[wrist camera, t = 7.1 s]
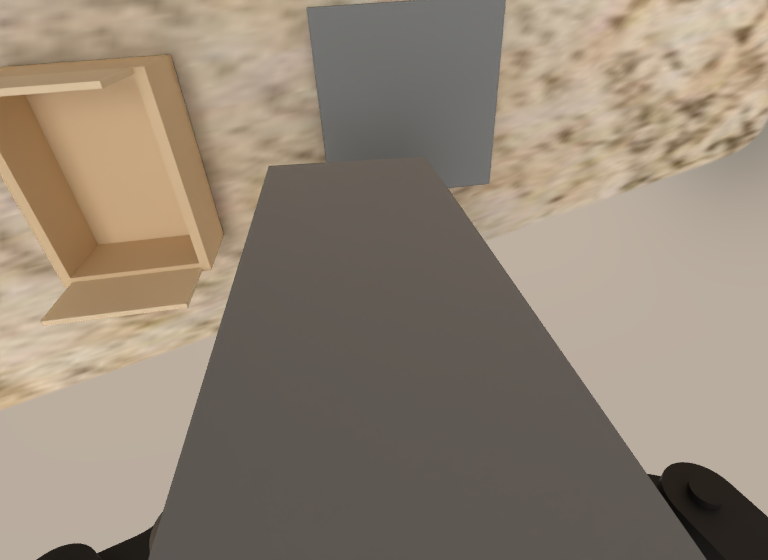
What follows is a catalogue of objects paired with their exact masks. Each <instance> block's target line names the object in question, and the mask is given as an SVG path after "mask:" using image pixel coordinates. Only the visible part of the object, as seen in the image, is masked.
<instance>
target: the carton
mask: <svg viewBox="0 0 768 560" xmlns="http://www.w3.org/2000/svg"><path fill="white" fill-rule="evenodd" d="M0 175H1V177H2V179H3V181H4V182H5V184H6V186H7V188H8V189H9V191H10V193H11V195H12V196H13V198H14V200H15V202H16V203H17V205H18V207H19V209H20V210H21V212H22V214H23V215H24V217H25V219H26V221H27V222H28V224H29V226H30V228H31V229H32V231H33V233H34V235H35V236H36V238H37V240H38V242H39V243H40V245H41V247H42V249H43V250H44V252H45V254H46V256H47V257H48V259H49V261H50V262H51V264H52V266H53V268H54V269H55V271H56V273H57V275H58V276H59V278H60V280H61V282H62V283H63V285H64V287H68V288H67V289H66V291H65V292H64V293H63V294H62V295H61V297H60V298H59V299H58V300H57V302H56V303H55V304H54V305H53V306H52V308H51V309H50V310H49V311H48V313H47V314H46V315H45V316H44V318H43V319H42V320H41V321H40V322H41V324H42V325H43V326H44V325H52V324H60V323H68V322H76V321H84V320H92V319H100V318H108V317H116V316H124V315H132V314H140V313H148V312H156V311H164V310H172V309H180V308H188V306H189V303H190V301H191V298H192V296H193V293H194V290H195V288H196V285H197V283H198V280H199V277H200V275H201V272H202V271H206V270H211V269H212V266H213V264H214V261H215V258H216V255H217V252H218V249H219V247H220V244H221V241H222V238H223V235H224V234H223V231H222V228H221V224H220V221H219V217H218V214H217V211H216V207H215V204H214V200H213V197H212V194H211V190H210V187H209V183H208V180H207V177H206V173H205V170H204V167H203V163H202V160H201V156H200V153H199V150H198V146H197V143H196V139H195V136H194V133H193V129H192V126H191V122H190V119H189V116H188V112H187V109H186V106H185V102H184V99H183V95H182V92H181V89H180V85H179V82H178V78H177V75H176V72H175V68H174V65H173V62H172V58H171V55H170V54H168V55H155V56H141V57H127V58H114V59H100V60H87V61H73V62H59V63H46V64H32V65H18V66H6V67H2V68H0Z"/></svg>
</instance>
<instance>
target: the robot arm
mask: <svg viewBox="0 0 768 560" xmlns="http://www.w3.org/2000/svg"><path fill="white" fill-rule="evenodd" d="M647 475H648V476H649V478H650V479H651V481H652V482H653V483H654V485H655V486H656V488H657V489H658V491H659V492H660V493H661V495H662V496H663V498H664V499H665V501H666V502H667V503H668V505H669V506H670V508H671V509H672V511H673V512H674V514H675V515H676V516H677V518H678V519H679V521H680V522H681V524H682V525H683V526H684V528H685V529H686V531H687V532H688V534H689V535H690V536H691V538H692V539H693V541H694V542H695V544H696V545H697V547H698V548H699V549H700V551H701V552H702V554H703V555H704V557H705V558H706V559H707V560H768V517H767V516H766V515H765V514H764V513H763V512H762V511H761V510H759V509H758V508H757V507H756V506H755V505H754V504H753V503H752V502H750V501H749V500H748V499H747V498H746V497H745V496H743V494H741V493H740V492H739V491H738V490H737V489H736V488H735V487H733V486H732V485H731V484H730V483H729V482H728V481H726V480H725V479H724V478H723V477H721V476H720V475H718V474H717V473H715V472H713V471H712V470H710V469H708V468H705V467H703V466H700V465H696V464H692V463H684V462H680V463H675V464H671V465H670V466H668V467H667V468H666V469H665V470H664V472H663V474H662V476H657V475H651V474H647ZM162 513H163V512H162ZM162 513H161V515H160V516H159V517H158V519H157V520H156V522H155V524H154V526H152V527H151V528H150V529H148V530H146V531H145V532H143V533H141V534H139V535H137V536H135V537H133V538H131V539H128V540H126V541H124V542H122V543H119V544H117V545H115V546H113V547H110V548H108V549H106V550H103V551H102V552H99V553H96V552H95V551H94V550H93V549H92V548H91V547H89V546H87V545H84V544H68V545H64V546H61V547H58V548H56V549H53V550H51V551H50V552H48V553H46V554H44V555H43V556H41V557H40V558H38V559H37V560H148V559H149V556H150V552H151V549H152V546H153V543H154V539H155V536H156V533H157V530H158V526H159V523H160V520H161V517H162Z"/></svg>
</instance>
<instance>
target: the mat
mask: <svg viewBox="0 0 768 560" xmlns="http://www.w3.org/2000/svg"><path fill="white" fill-rule="evenodd" d="M505 2H506V0H414V1H399V2H384V3H369V4H353V5H338V6H323V7H308V8H307V15H308V23H309V30H310V38H311V46H312V54H313V61H314V69H315V77H316V85H317V92H318V100H319V108H320V115H321V123H322V131H323V139H324V146H325V154H326V162H344V161H360V160H376V159H393V158H409V157H425V156H426V158H427V159H428V161H429V162H430V164H431V165H432V166H433V168H434V169H435V171H436V172H437V174H438V175H439V176H440V178H441V179H442V181H443V182H444V184H445V185H446V186H447V188H454V187H463V186H473V185H482V184H489V179H490V168H491V157H492V146H493V135H494V124H495V113H496V102H497V91H498V80H499V69H500V57H501V46H502V35H503V24H504V13H505Z"/></svg>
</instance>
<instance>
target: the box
mask: <svg viewBox="0 0 768 560" xmlns="http://www.w3.org/2000/svg"><path fill="white" fill-rule="evenodd" d="M148 560H707V559H706V558H705V557H704V555H703V554H702V552H701V551H700V549H699V548H698V547H697V545H696V544H695V542H694V541H693V539H692V538H691V536H690V535H689V534H688V532H687V531H686V529H685V528H684V526H683V525H682V524H681V522H680V521H679V519H678V518H677V516H676V515H675V514H674V512H673V511H672V509H671V508H670V506H669V505H668V503H667V502H666V501H665V499H664V498H663V496H662V495H661V493H660V492H659V491H658V489H657V488H656V486H655V485H654V483H653V482H652V481H651V479H650V478H649V476H648V475H647V473H646V472H645V471H644V469H643V468H642V466H641V465H640V463H639V462H638V460H637V459H636V458H635V456H634V455H633V453H632V452H631V450H630V449H629V448H628V446H627V445H626V443H625V442H624V440H623V439H622V438H621V436H620V435H619V433H618V432H617V430H616V429H615V427H614V426H613V425H612V423H611V422H610V421H609V419H608V417H607V416H606V415H605V413H604V412H603V410H602V409H601V407H600V406H599V405H598V403H597V402H596V400H595V399H594V398H593V396H592V395H591V393H590V392H589V390H588V389H587V387H586V386H585V384H584V383H583V382H582V380H581V379H580V377H579V376H578V375H577V373H576V372H575V370H574V369H573V367H572V366H571V365H570V363H569V362H568V360H567V359H566V357H565V356H564V354H563V353H562V351H560V349H559V347H558V346H557V344H556V343H555V341H554V340H553V339H552V337H551V336H550V334H549V333H548V332H547V330H546V329H545V327H544V326H543V324H542V323H541V321H540V320H539V319H538V317H537V316H536V314H535V313H534V311H533V310H532V309H531V307H530V306H529V304H528V303H527V301H526V300H525V298H524V297H523V296H522V294H521V293H520V291H519V290H518V288H517V287H516V285H515V284H514V283H513V281H512V280H511V278H510V277H509V275H508V274H507V273H506V271H505V270H504V268H503V267H502V265H501V264H500V263H499V261H498V260H497V258H496V257H495V255H494V254H493V252H492V251H491V250H490V248H489V247H488V245H487V244H486V242H485V241H484V240H483V238H482V237H481V235H480V234H479V232H478V231H477V230H476V228H475V227H474V225H473V224H472V222H471V221H470V219H469V218H468V217H467V215H466V214H465V212H464V211H463V209H462V208H461V207H460V205H459V204H458V202H457V201H456V199H455V198H454V197H453V195H452V194H451V192H450V191H449V189H448V188H447V186H446V185H445V184H444V182H443V181H442V179H441V178H440V176H439V175H438V174H437V172H436V171H435V169H434V168H433V166H432V165H431V164H430V162H429V161H428V159H427V158H426V156H425V157H409V158H393V159H376V160H360V161H344V162H327V163H311V164H295V165H278V166H269V167H268V171H267V174H266V177H265V180H264V184H263V187H262V190H261V193H260V197H259V200H258V203H257V207H256V210H255V213H254V216H253V220H252V223H251V226H250V229H249V233H248V236H247V239H246V242H245V246H244V249H243V252H242V255H241V259H240V262H239V265H238V269H237V272H236V275H235V278H234V282H233V285H232V288H231V291H230V295H229V298H228V301H227V304H226V308H225V311H224V314H223V318H222V321H221V324H220V327H219V331H218V334H217V337H216V341H215V344H214V347H213V350H212V353H211V357H210V360H209V363H208V366H207V370H206V373H205V376H204V380H203V383H202V386H201V389H200V393H199V396H198V399H197V403H196V406H195V409H194V412H193V415H192V419H191V422H190V426H189V428H188V432H187V435H186V438H185V442H184V445H183V448H182V452H181V455H180V458H179V461H178V465H177V468H176V471H175V474H174V477H173V481H172V484H171V487H170V491H169V494H168V497H167V500H166V504H165V507H164V510H163V513H162V517H161V520H160V523H159V526H158V530H157V533H156V536H155V539H154V543H153V546H152V549H151V552H150V556H149V559H148Z"/></svg>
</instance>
